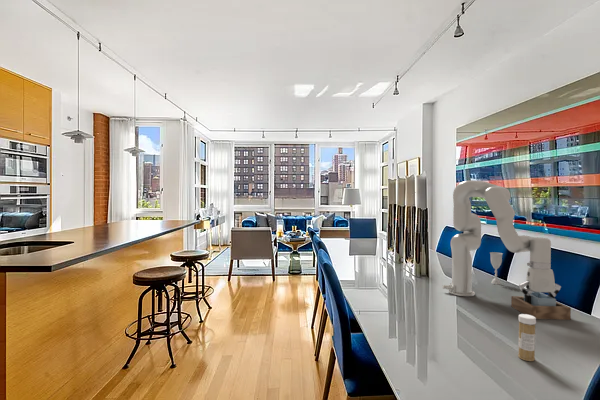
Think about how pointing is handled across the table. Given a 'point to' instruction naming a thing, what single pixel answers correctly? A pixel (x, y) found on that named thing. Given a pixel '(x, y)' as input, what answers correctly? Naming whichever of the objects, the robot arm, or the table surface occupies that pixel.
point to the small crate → (541, 299)
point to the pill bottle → (527, 337)
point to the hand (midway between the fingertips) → (539, 304)
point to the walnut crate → (541, 309)
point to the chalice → (496, 264)
